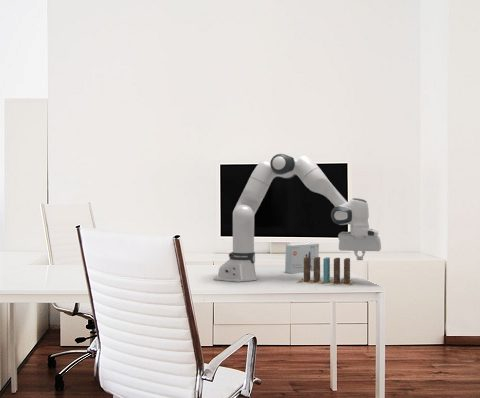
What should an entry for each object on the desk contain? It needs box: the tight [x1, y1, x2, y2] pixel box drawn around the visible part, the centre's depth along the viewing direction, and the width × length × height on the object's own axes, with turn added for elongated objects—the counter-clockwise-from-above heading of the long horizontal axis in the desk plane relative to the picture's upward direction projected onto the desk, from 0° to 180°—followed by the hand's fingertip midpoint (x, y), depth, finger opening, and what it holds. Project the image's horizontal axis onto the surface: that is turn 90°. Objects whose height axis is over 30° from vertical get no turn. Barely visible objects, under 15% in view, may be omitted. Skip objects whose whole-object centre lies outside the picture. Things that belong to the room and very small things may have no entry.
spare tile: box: [322, 256, 331, 283], centre depth 316 cm, size 2×6×12 cm, turn 161°
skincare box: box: [284, 242, 320, 274], centre depth 360 cm, size 21×5×16 cm, turn 126°
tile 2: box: [333, 257, 341, 284], centre depth 314 cm, size 2×6×12 cm, turn 161°
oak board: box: [296, 278, 355, 286], centre depth 316 cm, size 27×12×1 cm, turn 71°
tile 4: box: [313, 256, 321, 283], centre depth 317 cm, size 2×6×12 cm, turn 161°
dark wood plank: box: [303, 257, 311, 282], centre depth 319 cm, size 2×6×12 cm, turn 161°
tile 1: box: [343, 257, 351, 284], centre depth 312 cm, size 2×6×12 cm, turn 161°
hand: (359, 260), depth 310 cm, fingers closed
